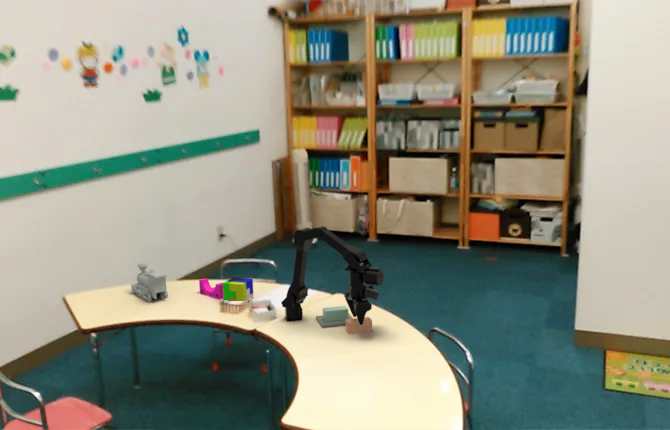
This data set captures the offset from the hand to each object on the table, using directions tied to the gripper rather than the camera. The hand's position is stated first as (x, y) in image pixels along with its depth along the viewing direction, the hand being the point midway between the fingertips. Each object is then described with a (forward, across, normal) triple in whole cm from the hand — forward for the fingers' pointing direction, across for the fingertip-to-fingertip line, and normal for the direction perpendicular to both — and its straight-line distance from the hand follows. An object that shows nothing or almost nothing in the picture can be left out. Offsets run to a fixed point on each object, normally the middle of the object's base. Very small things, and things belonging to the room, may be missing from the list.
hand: (357, 320), depth 247 cm
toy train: (+4, +73, +82) cm, 110 cm away
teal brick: (+3, +13, +6) cm, 15 cm away
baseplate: (+4, +13, +6) cm, 15 cm away
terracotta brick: (+4, 0, 0) cm, 4 cm away
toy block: (+5, +65, +52) cm, 83 cm away
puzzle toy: (+4, +52, +42) cm, 67 cm away
